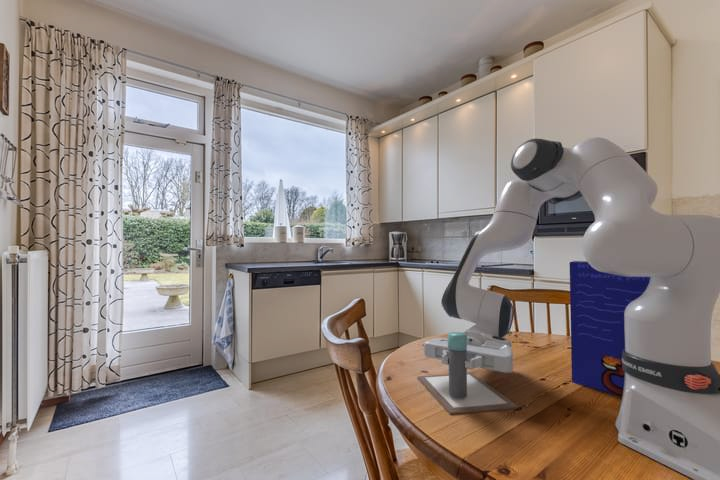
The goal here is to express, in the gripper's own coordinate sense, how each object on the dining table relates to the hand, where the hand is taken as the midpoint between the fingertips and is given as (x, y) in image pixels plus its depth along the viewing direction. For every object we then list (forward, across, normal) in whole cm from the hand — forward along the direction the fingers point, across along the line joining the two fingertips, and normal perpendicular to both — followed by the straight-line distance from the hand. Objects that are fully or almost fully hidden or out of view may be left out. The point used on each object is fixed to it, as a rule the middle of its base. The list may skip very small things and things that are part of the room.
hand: (456, 362), depth 72 cm
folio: (-6, -1, +8) cm, 10 cm away
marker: (-1, 0, +7) cm, 7 cm away
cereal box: (-26, +31, +8) cm, 42 cm away
